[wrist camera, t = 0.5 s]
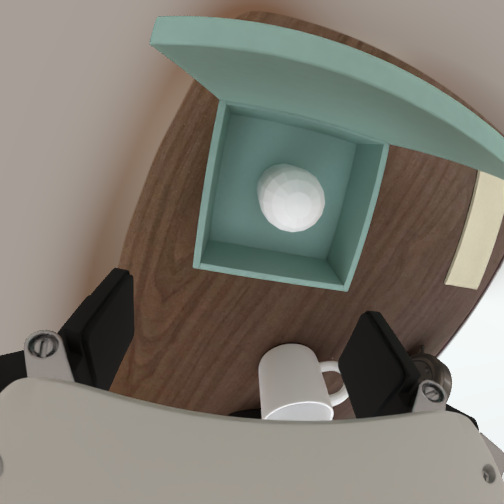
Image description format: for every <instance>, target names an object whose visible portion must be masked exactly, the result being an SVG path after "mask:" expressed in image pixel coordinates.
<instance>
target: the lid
mask: <svg viewBox="0 0 504 504" xmlns="http://www.w3.org/2000/svg"><path fill="white" fill-rule="evenodd" d="M150 45H151V46H153V47H154V48H156V49H157V50H158V51H160V52H161V53H162V54H164V55H165V56H166V57H168V58H169V59H170V60H172V61H173V62H174V63H176V64H177V65H178V66H179V67H181V68H182V69H183V70H184V71H186V72H187V73H188V74H189V75H191V76H192V77H193V78H194V79H196V80H197V81H198V82H199V83H200V84H202V85H203V86H204V87H205V88H206V89H208V90H209V91H210V92H211V93H212V94H214V95H215V96H216V97H217V98H218V99H220V100H226V101H233V102H239V103H245V104H251V105H256V106H261V107H266V108H271V109H276V110H281V111H285V112H289V113H294V114H298V115H302V116H306V117H309V118H313V119H317V120H320V121H324V122H327V123H331V124H334V125H337V126H341V127H344V128H347V129H350V130H353V131H356V132H359V133H362V134H365V135H368V136H370V137H373V138H376V139H379V140H381V141H384V142H386V143H389V144H392V145H396V146H400V147H404V148H408V149H412V150H416V151H420V152H424V153H427V154H431V155H434V156H438V157H441V158H444V159H448V160H451V161H454V162H457V163H460V164H463V165H466V166H469V167H472V168H474V169H477V170H480V171H482V172H485V173H488V174H490V175H493V176H495V177H498V178H500V179H503V180H504V137H503V136H501V135H500V134H499V133H498V132H497V131H496V130H494V129H493V128H492V127H491V126H490V125H488V124H487V123H486V122H485V121H483V120H482V119H481V118H479V117H478V116H477V115H476V114H474V113H473V112H472V111H470V110H469V109H467V108H466V107H465V106H463V105H462V104H460V103H459V102H457V101H456V100H454V99H453V98H451V97H450V96H448V95H447V94H445V93H444V92H442V91H440V90H439V89H437V88H436V87H434V86H432V85H430V84H429V83H427V82H425V81H424V80H422V79H420V78H418V77H416V76H414V75H413V74H411V73H409V72H407V71H405V70H403V69H401V68H399V67H397V66H395V65H393V64H391V63H388V62H386V61H384V60H382V59H380V58H377V57H375V56H373V55H370V54H368V53H365V52H363V51H360V50H358V49H355V48H352V47H350V46H347V45H344V44H341V43H338V42H335V41H332V40H329V39H326V38H323V37H319V36H316V35H312V34H309V33H305V32H301V31H297V30H293V29H289V28H284V27H279V26H274V25H269V24H264V23H258V22H251V21H244V20H237V19H226V18H216V17H199V16H159V17H157V19H156V21H155V24H154V28H153V32H152V35H151V39H150Z"/></svg>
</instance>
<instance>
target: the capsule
mask: <svg viewBox="0 0 504 504" xmlns="http://www.w3.org/2000/svg"><path fill="white" fill-rule="evenodd" d="M257 195H258V200H259V204H260V207H261V211H262V212H263V214H264V216H265V217H266V219H267V220H268V222H270V223H271V224H273V225H274V226H276V227H277V228H279V229H280V230H284V231H289V232H298V231H304V230H306V229H308V228H309V227H311V226H313V225H314V224H315V223H316V222H317V221H318V219H319V218H320V217H321V215H322V213H323V209H324V206H325V198H324V191H323V189H322V187H321V185H320V183H319V181H318V180H317V178H316V177H315V176H314V175H312V174H311V173H310V172H308V171H307V170H305V169H302V168H299V167H296V166H293V165H289V164H285V163H283V164H276V165H273V166H271V167H270V168H268V169H266V170H265V171H264V172H263V174H262V175H261V176H260V178H259V180H258V184H257Z"/></svg>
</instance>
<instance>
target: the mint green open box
mask: <svg viewBox="0 0 504 504" xmlns="http://www.w3.org/2000/svg"><path fill="white" fill-rule="evenodd" d="M389 145H390V144H389V143H386V142H384V141H381V140H379V139H376V138H373V137H370V136H368V135H365V134H362V133H359V132H356V131H353V130H350V129H347V128H344V127H341V126H337V125H334V124H331V123H327V122H324V121H320V120H317V119H313V118H309V117H306V116H302V115H298V114H294V113H289V112H285V111H281V110H276V109H271V108H266V107H261V106H256V105H251V104H245V103H239V102H233V101H226V100H219V105H218V110H217V114H216V119H215V124H214V130H213V135H212V140H211V146H210V151H209V157H208V162H207V168H206V174H205V180H204V187H203V193H202V200H201V206H200V213H199V221H198V228H197V235H196V243H195V251H194V260H193V268H198V269H199V268H200V269H203V270H209V271H215V272H221V273H227V274H233V275H239V276H246V277H252V278H258V279H265V280H271V281H278V282H284V283H291V284H298V285H305V286H311V287H318V288H326V289H333V290H340V291H348V289H349V286H350V283H351V281H352V278H353V275H354V272H355V269H356V266H357V263H358V260H359V257H360V254H361V251H362V248H363V245H364V242H365V239H366V236H367V232H368V229H369V226H370V222H371V219H372V215H373V212H374V208H375V204H376V201H377V197H378V193H379V189H380V185H381V181H382V177H383V173H384V169H385V164H386V160H387V155H388V150H389ZM283 163H285V164H289V165H293V166H296V167H299V168H302V169H305V170H307V171H308V172H310V173H311V174H312V175H314V176H315V177H316V178H317V180H318V181H319V183H320V185H321V187H322V189H323V191H324V198H325V206H324V209H323V213H322V215H321V217H320V218H319V219H318V221H317V222H316V223H315V224H314V225H313V226H311V227H309V228H308V229H306V230H304V231H298V232H289V231H284V230H280V229H279V228H277V227H276V226H274V225H273V224H271V223H270V222H268V220H267V219H266V217H265V216H264V214H263V212H262V211H261V207H260V204H259V200H258V195H257V184H258V180H259V178H260V176H261V175H262V174H263V172H264V171H265V170H266V169H268V168H270V167H271V166H273V165H276V164H283Z"/></svg>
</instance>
